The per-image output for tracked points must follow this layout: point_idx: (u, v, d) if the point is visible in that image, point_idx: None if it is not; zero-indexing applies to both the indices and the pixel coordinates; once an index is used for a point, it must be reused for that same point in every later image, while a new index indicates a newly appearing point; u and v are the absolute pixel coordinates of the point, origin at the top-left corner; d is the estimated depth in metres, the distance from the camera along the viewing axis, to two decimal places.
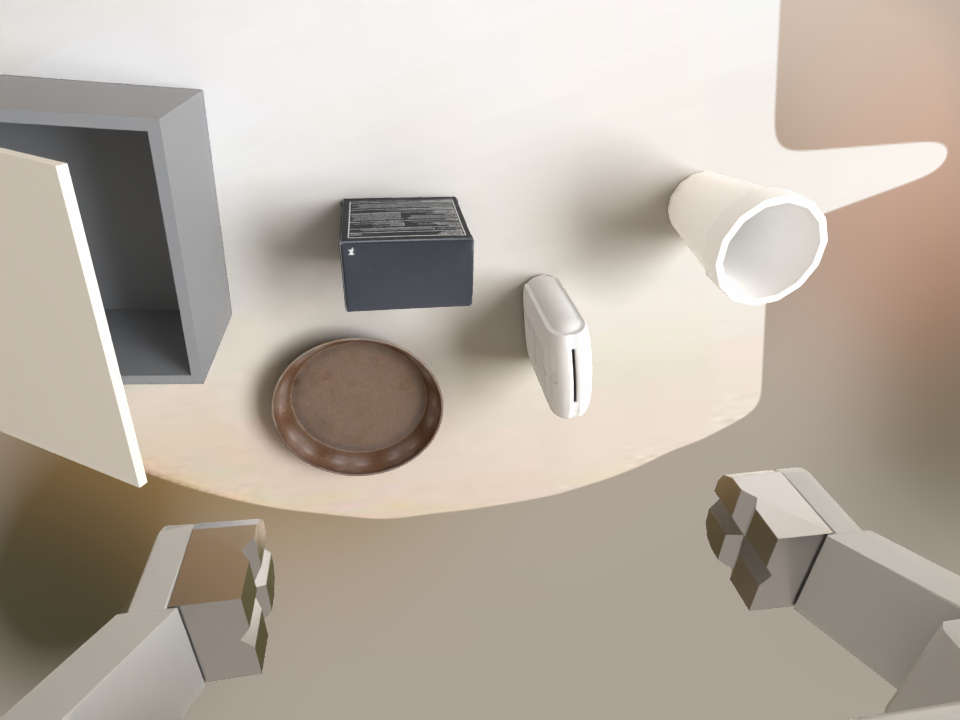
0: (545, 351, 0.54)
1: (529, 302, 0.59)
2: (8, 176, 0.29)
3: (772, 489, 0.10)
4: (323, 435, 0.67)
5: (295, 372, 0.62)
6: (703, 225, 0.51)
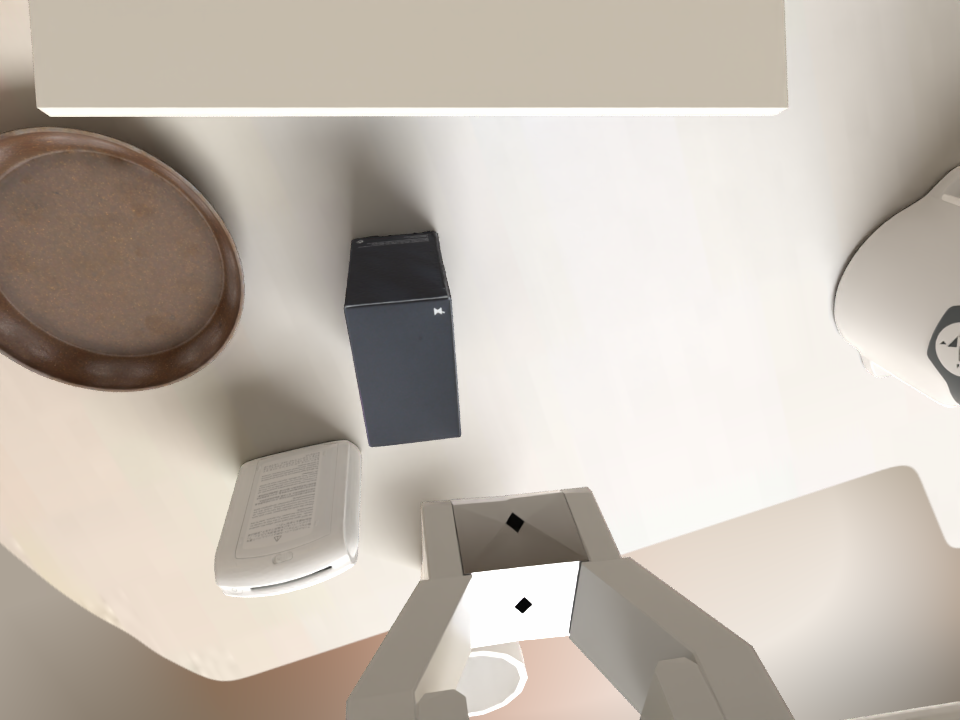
0: (311, 531, 0.42)
1: (339, 464, 0.48)
2: None
3: (545, 511, 0.10)
4: (5, 204, 0.37)
5: (140, 162, 0.37)
6: None
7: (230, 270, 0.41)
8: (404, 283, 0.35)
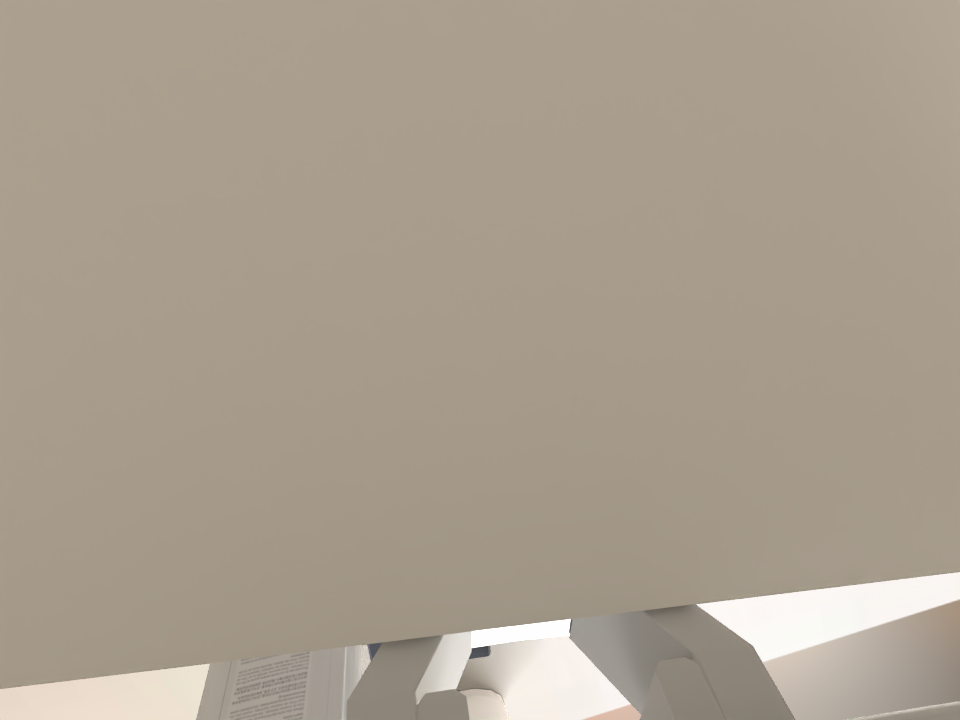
0: None
1: None
2: None
3: None
4: None
5: None
6: None
7: None
8: None
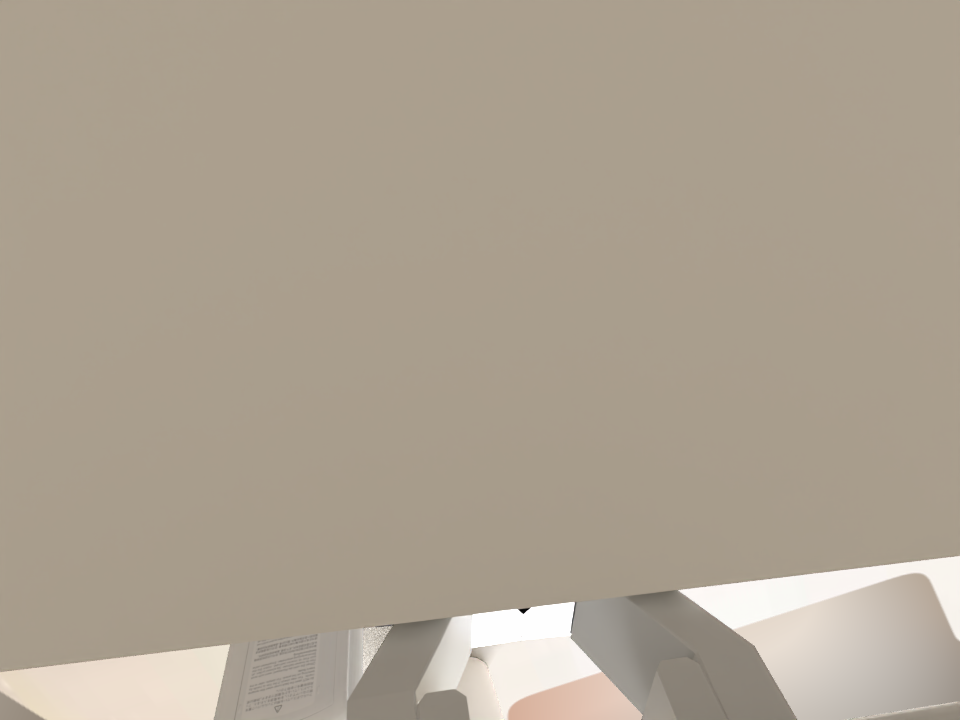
0: (314, 700, 0.40)
1: None
2: None
3: None
4: None
5: None
6: None
7: None
8: None
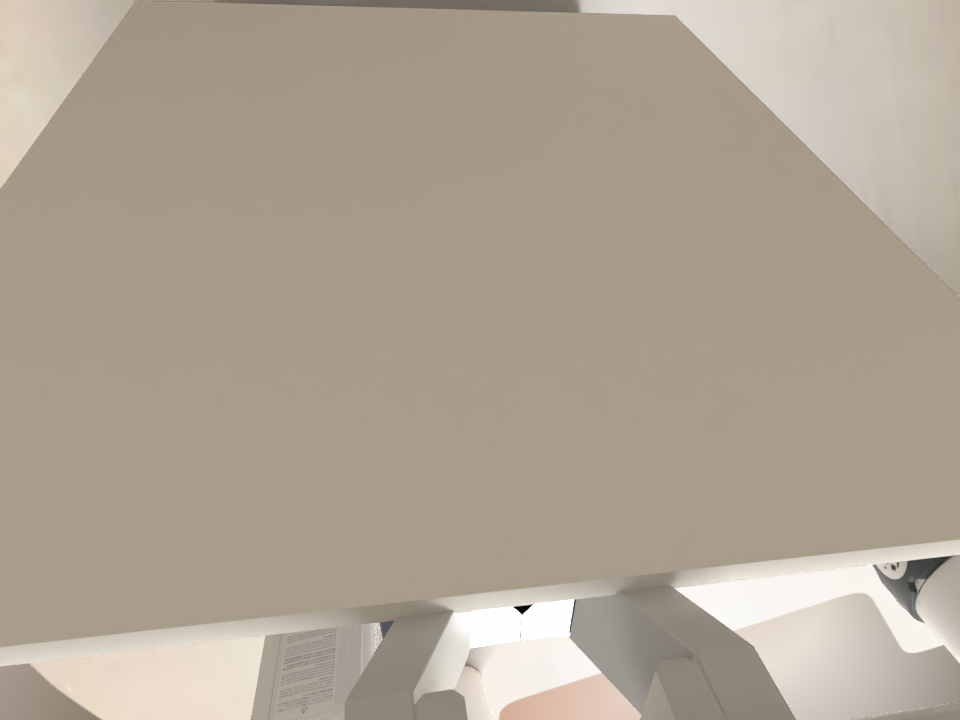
0: (333, 703, 0.49)
1: (355, 627, 0.55)
2: None
3: None
4: None
5: None
6: None
7: None
8: None
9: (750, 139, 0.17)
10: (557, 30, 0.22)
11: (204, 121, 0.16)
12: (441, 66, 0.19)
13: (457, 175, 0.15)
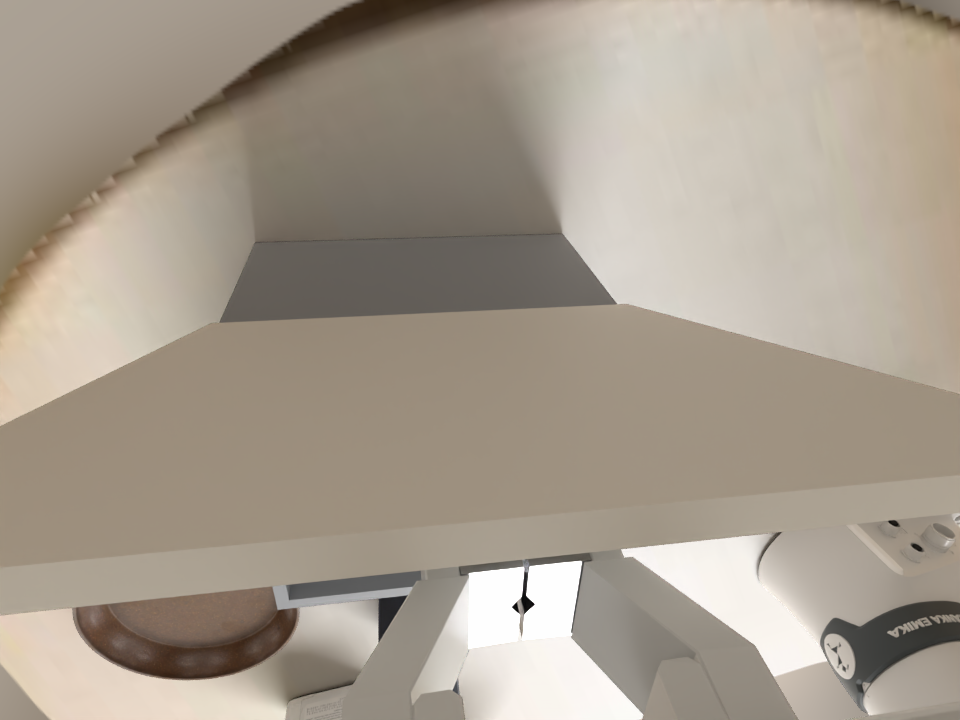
0: None
1: None
2: (919, 400, 0.13)
3: None
4: None
5: None
6: None
7: None
8: None
9: (698, 337, 0.21)
10: (534, 313, 0.28)
11: (253, 355, 0.20)
12: (443, 328, 0.24)
13: (456, 361, 0.18)
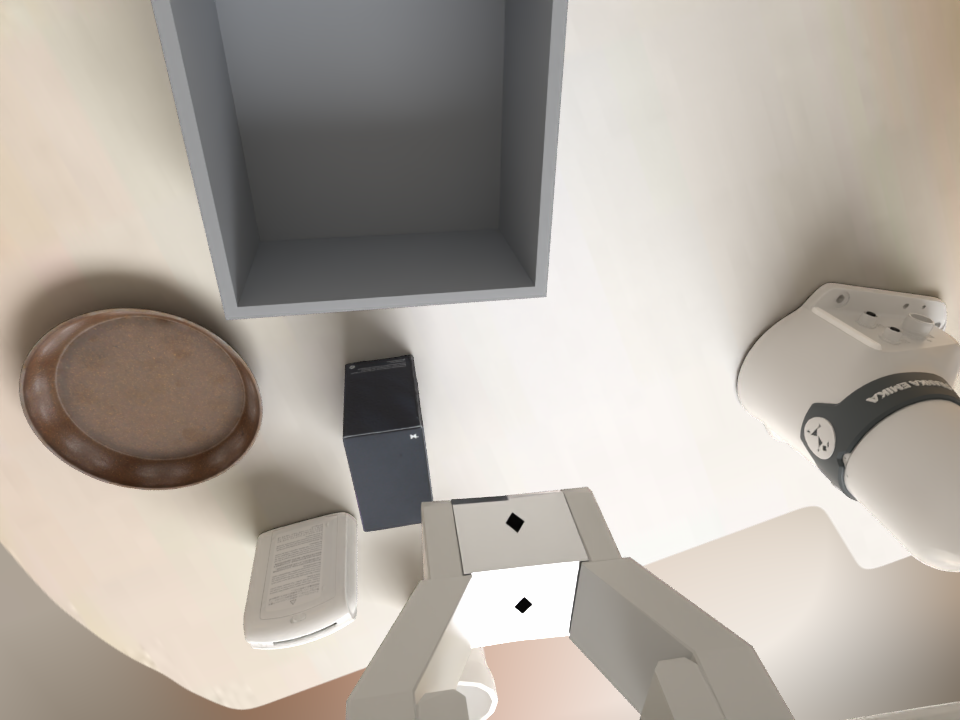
0: (320, 595, 0.53)
1: (339, 534, 0.59)
2: None
3: (544, 511, 0.10)
4: (76, 356, 0.48)
5: (180, 321, 0.48)
6: None
7: (250, 393, 0.52)
8: (387, 413, 0.47)
9: None
10: None
11: None
12: None
13: None
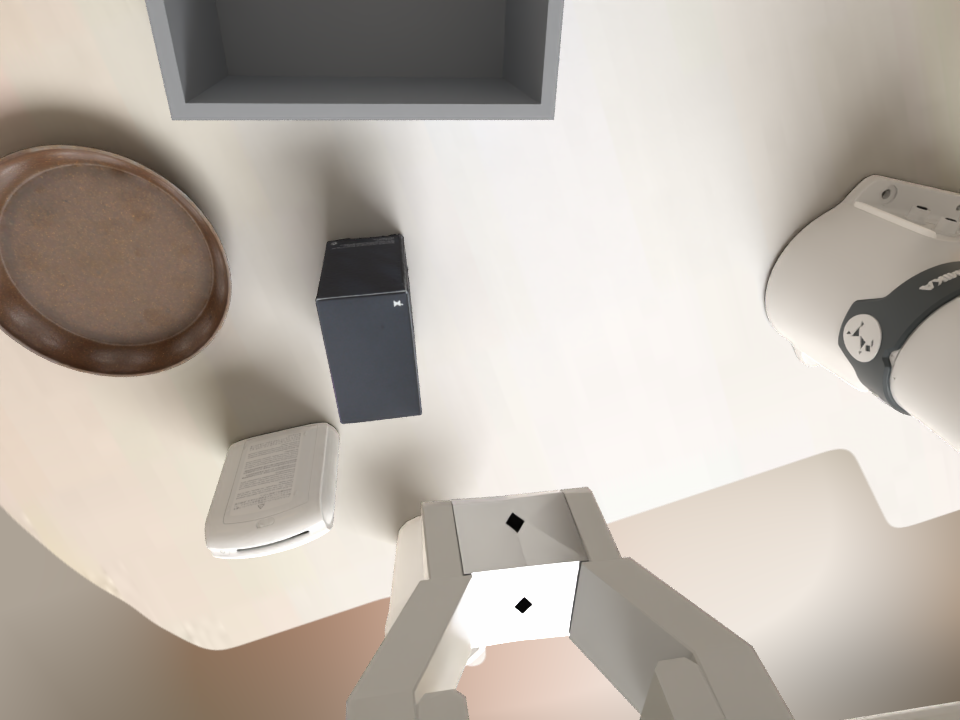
0: (291, 500, 0.48)
1: (318, 443, 0.53)
2: None
3: (545, 511, 0.10)
4: (20, 211, 0.43)
5: (138, 174, 0.42)
6: None
7: (219, 268, 0.46)
8: (369, 280, 0.41)
9: None
10: None
11: None
12: None
13: None
